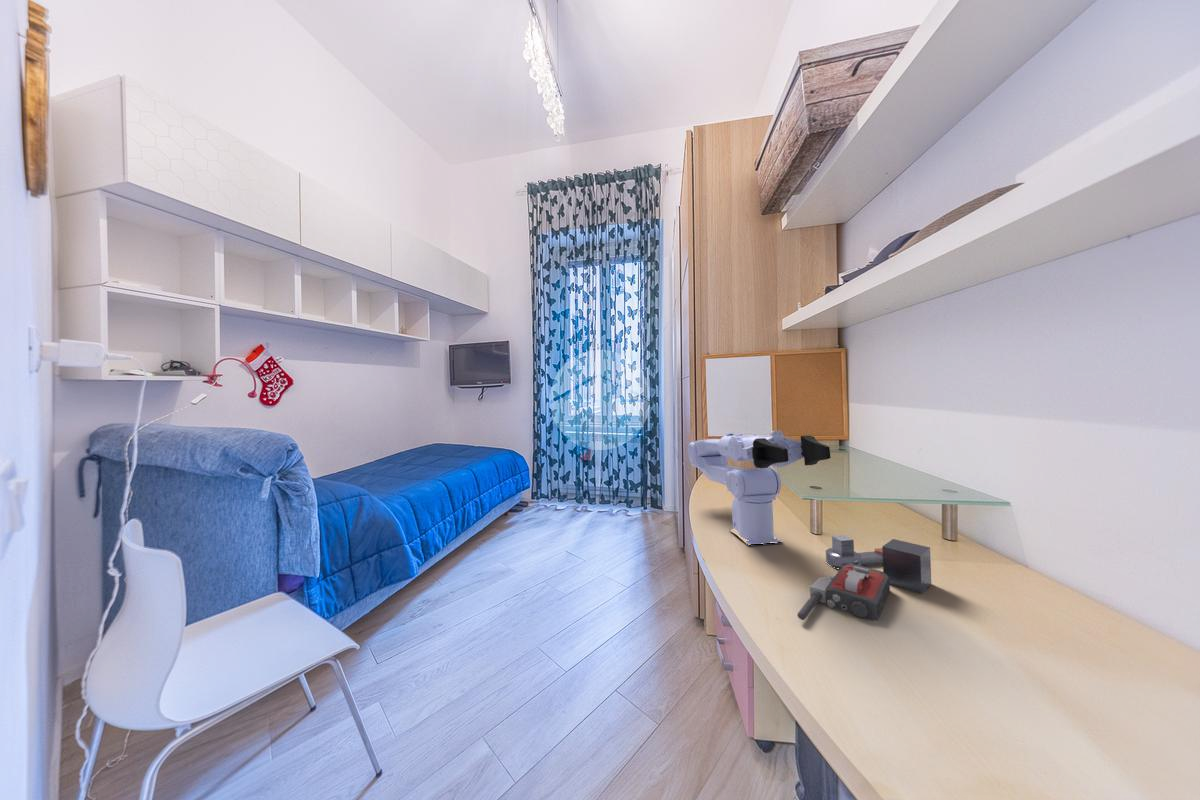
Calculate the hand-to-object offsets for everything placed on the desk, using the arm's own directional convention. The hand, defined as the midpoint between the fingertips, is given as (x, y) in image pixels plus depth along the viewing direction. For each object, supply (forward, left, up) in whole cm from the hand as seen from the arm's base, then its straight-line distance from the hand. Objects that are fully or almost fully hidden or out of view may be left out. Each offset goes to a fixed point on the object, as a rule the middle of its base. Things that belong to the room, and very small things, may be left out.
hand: (807, 453), depth 65 cm
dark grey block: (+4, +14, -22) cm, 26 cm away
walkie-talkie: (+8, 0, -22) cm, 24 cm away
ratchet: (-4, +14, -22) cm, 26 cm away
